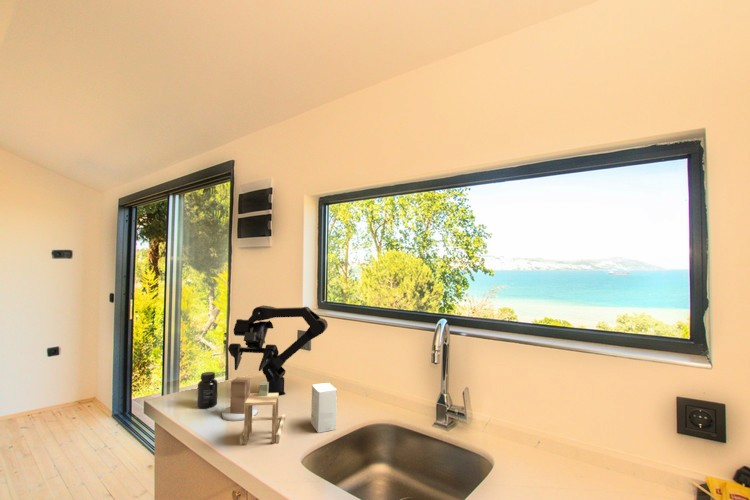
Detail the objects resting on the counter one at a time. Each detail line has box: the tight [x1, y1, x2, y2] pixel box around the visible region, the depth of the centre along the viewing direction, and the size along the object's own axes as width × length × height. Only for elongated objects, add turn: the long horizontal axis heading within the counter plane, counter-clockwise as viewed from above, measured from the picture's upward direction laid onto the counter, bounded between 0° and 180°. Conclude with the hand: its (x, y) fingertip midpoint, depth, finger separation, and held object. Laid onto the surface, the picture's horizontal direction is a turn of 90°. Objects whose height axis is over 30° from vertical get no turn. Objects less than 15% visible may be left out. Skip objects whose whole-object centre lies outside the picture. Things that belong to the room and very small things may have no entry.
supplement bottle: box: [196, 371, 219, 410], centre depth 138 cm, size 7×7×12 cm
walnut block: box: [229, 376, 252, 414], centre depth 131 cm, size 5×5×11 cm
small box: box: [310, 382, 338, 434], centre depth 123 cm, size 8×6×13 cm
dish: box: [221, 405, 259, 422], centre depth 131 cm, size 12×12×1 cm
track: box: [239, 414, 286, 446], centre depth 119 cm, size 18×11×2 cm, turn 8°
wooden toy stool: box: [243, 381, 280, 445], centre depth 114 cm, size 8×9×16 cm
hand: (247, 370), depth 140 cm, fingers open, 9 cm apart
